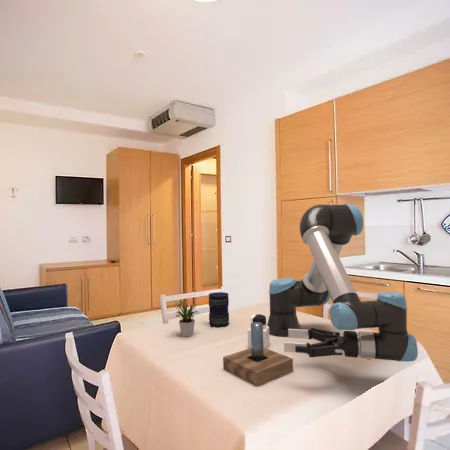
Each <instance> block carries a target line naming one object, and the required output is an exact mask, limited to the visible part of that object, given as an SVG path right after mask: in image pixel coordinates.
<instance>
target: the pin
mask: <svg viewBox="0 0 450 450" xmlns="http://www.w3.org/2000/svg"><path fill="white" fill-rule="evenodd" d="M250 327H251V359H252V360H253V361H255V362H260V361H262V360H264V347H263V323H260V322H253V323H251V322H250Z"/></svg>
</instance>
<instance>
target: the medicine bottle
mask: <svg viewBox="0 0 450 450" xmlns="http://www.w3.org/2000/svg"><path fill="white" fill-rule="evenodd" d="M253 322H260V323H263V347H264V348H266V349H268V346H269V345H270V334H269V326H267V316H266V315H264V314H259V313H258V314H257V313H256V314H253V315H251V316H250V324H251V323H253ZM249 348H251V326H250V327H248V329H247V349H249Z"/></svg>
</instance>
